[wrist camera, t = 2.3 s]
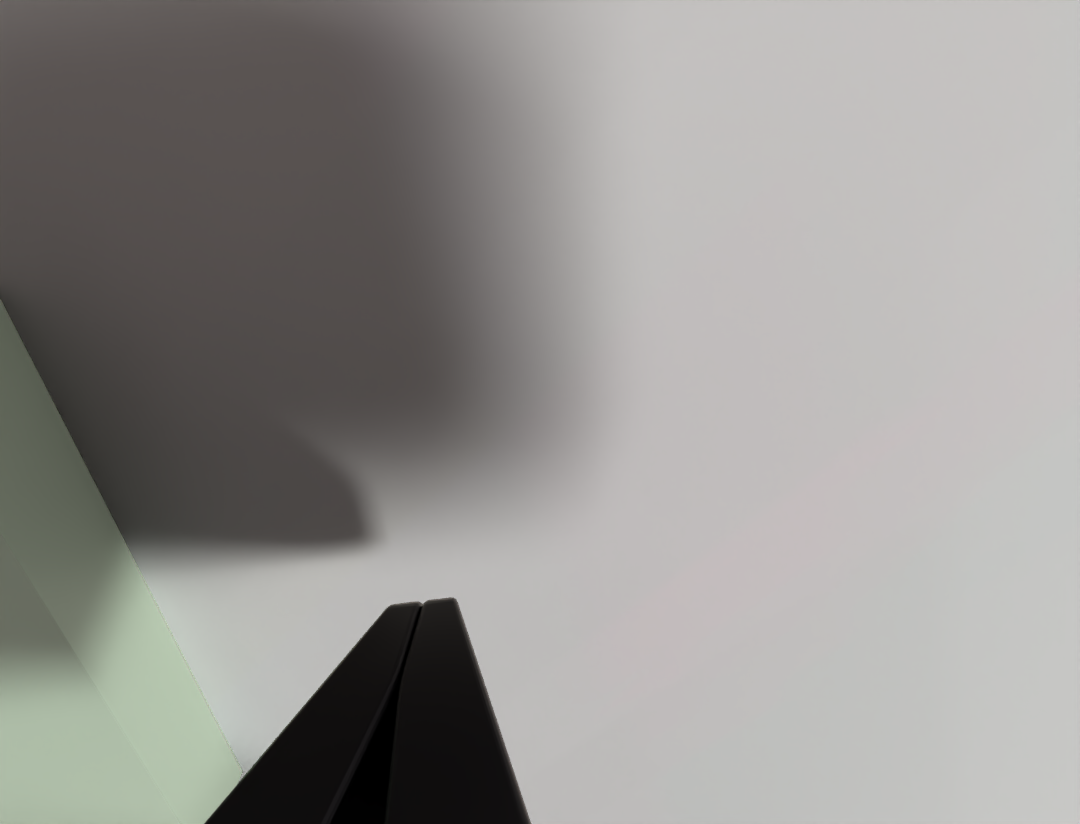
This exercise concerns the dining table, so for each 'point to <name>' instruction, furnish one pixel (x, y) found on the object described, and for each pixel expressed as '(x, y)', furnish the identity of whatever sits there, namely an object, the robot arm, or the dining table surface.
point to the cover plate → (86, 644)
